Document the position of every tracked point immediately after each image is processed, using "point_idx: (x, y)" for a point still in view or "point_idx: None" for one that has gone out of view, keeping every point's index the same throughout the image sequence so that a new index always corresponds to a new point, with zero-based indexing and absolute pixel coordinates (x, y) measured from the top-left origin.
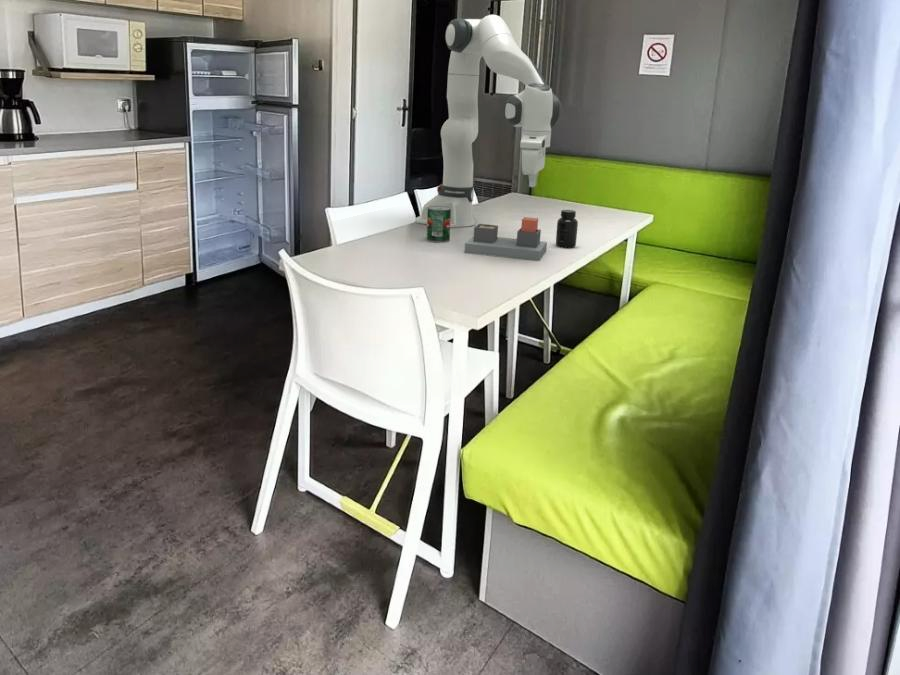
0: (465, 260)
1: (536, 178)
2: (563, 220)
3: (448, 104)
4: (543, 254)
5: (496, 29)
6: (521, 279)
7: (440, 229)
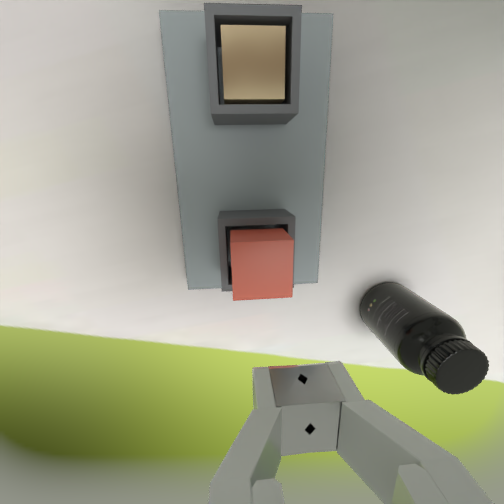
0: (64, 67)
1: (358, 471)
2: (413, 342)
3: None
4: None
5: None
6: None
7: None
